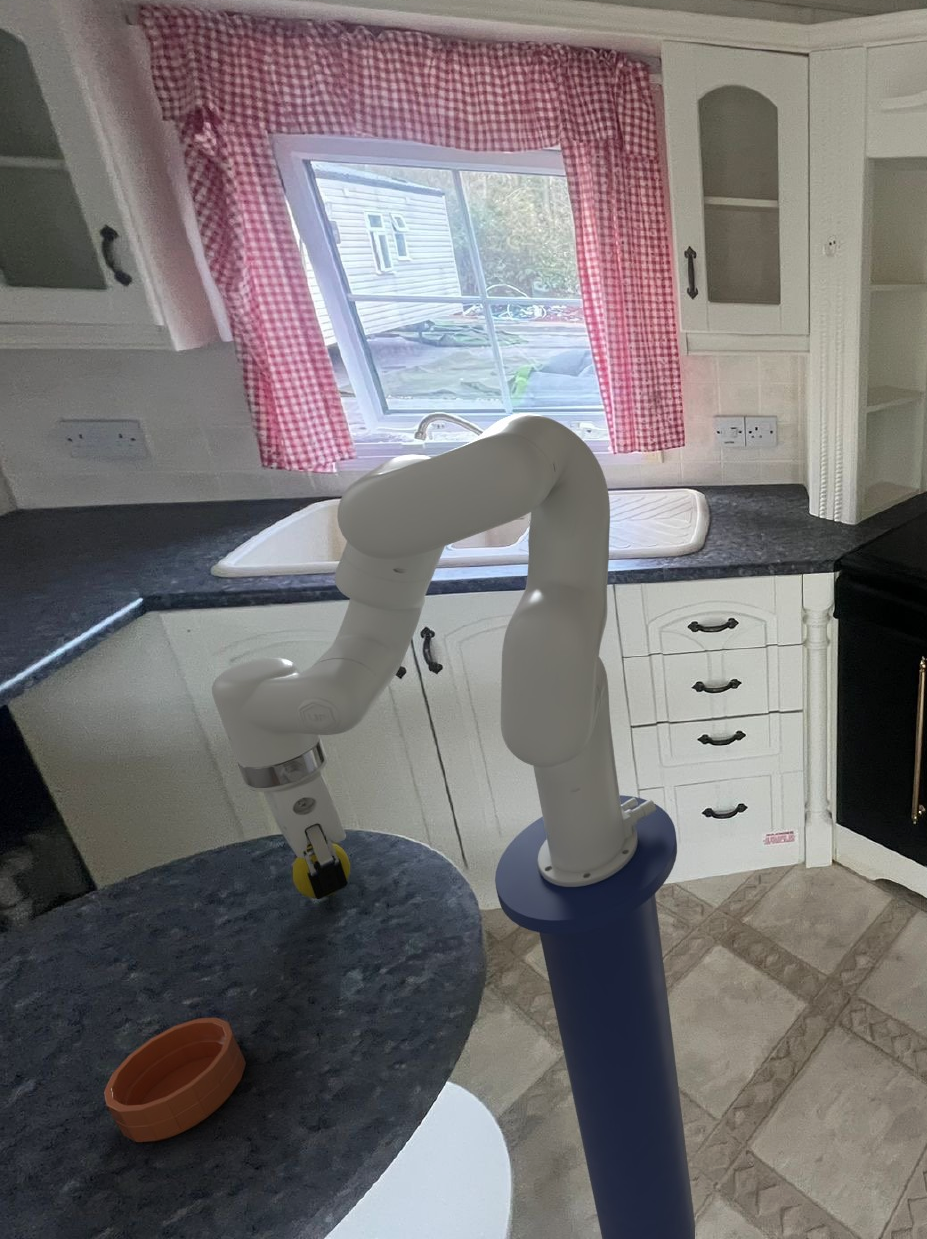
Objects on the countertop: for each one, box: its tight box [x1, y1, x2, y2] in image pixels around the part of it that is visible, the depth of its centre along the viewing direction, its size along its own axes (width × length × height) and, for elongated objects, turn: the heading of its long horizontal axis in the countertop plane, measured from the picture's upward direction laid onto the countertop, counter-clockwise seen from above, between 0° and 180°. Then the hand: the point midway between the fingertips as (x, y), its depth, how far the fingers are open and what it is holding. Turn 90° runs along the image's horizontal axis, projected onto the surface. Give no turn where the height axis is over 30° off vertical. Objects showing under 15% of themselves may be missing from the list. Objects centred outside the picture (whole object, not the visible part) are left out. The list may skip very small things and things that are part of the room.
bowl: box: [103, 1017, 247, 1143], centre depth 69 cm, size 9×9×5 cm
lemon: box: [292, 842, 351, 899], centre depth 91 cm, size 6×6×8 cm
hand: (324, 877), depth 92 cm, fingers closed on lemon, 5 cm apart
